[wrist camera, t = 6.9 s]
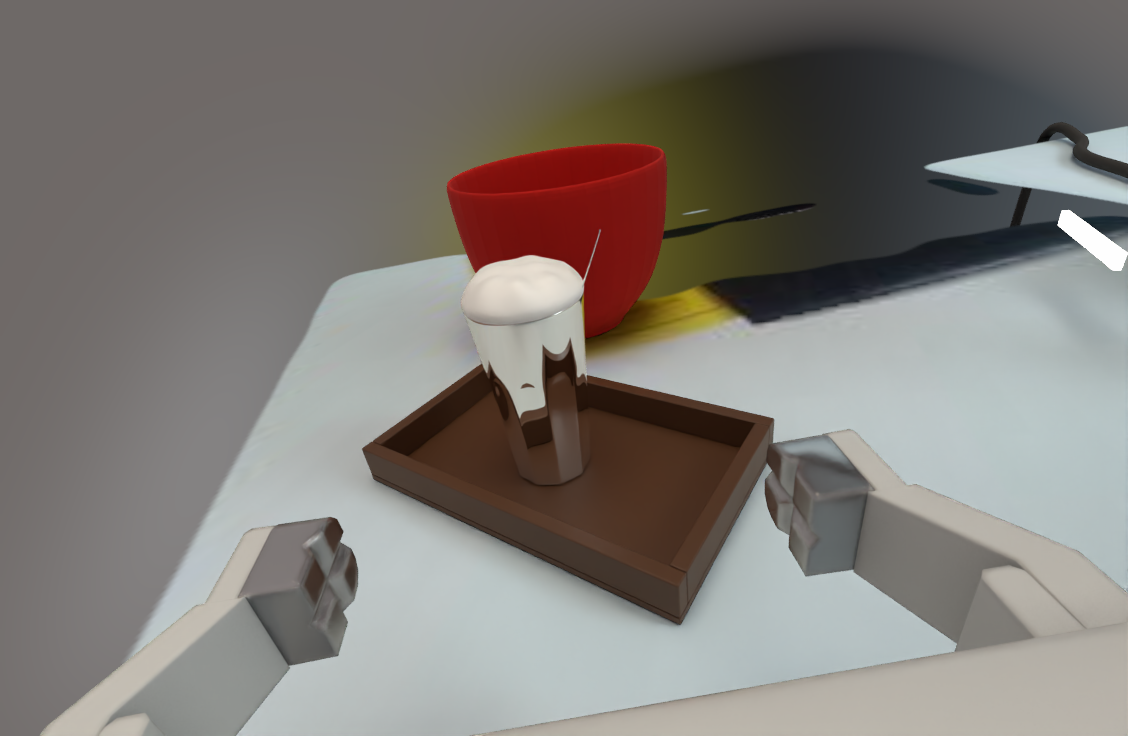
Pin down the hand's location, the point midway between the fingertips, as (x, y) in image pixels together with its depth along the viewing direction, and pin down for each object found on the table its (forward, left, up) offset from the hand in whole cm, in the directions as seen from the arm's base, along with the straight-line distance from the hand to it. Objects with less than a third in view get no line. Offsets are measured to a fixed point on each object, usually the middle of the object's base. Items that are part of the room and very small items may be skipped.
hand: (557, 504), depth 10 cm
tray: (-9, -7, -8) cm, 14 cm away
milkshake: (-9, -7, -8) cm, 14 cm away
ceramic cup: (-22, -17, -9) cm, 29 cm away
